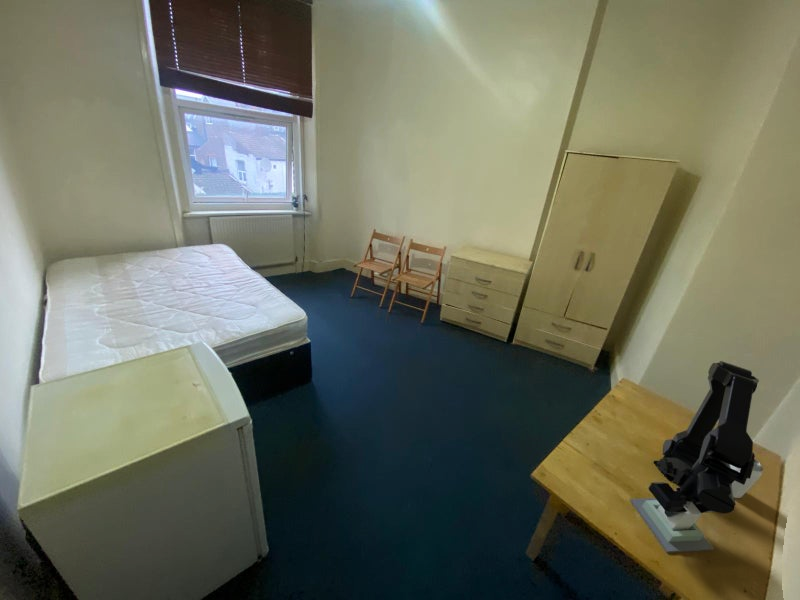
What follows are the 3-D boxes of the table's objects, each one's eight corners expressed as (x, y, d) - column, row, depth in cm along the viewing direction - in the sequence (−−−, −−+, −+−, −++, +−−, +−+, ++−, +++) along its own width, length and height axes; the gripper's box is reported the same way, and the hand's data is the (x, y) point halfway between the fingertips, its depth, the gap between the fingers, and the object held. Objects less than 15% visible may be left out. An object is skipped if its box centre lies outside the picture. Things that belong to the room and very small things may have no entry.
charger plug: (672, 509, 89) (687, 490, 85) (688, 529, 84) (705, 510, 80) (656, 510, 88) (670, 491, 84) (671, 530, 84) (687, 511, 80)
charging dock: (670, 498, 94) (675, 492, 92) (712, 550, 82) (719, 543, 81) (629, 500, 92) (633, 493, 91) (666, 552, 81) (672, 545, 79)
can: (707, 478, 101) (728, 452, 95) (726, 478, 101) (748, 452, 96) (728, 499, 95) (751, 472, 90) (747, 498, 96) (771, 472, 90)
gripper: (709, 447, 86) (681, 484, 93) (645, 448, 84) (622, 486, 91) (752, 488, 77) (718, 525, 84) (682, 490, 74) (652, 528, 82)
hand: (675, 514), depth 85 cm, fingers closed on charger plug, 5 cm apart
